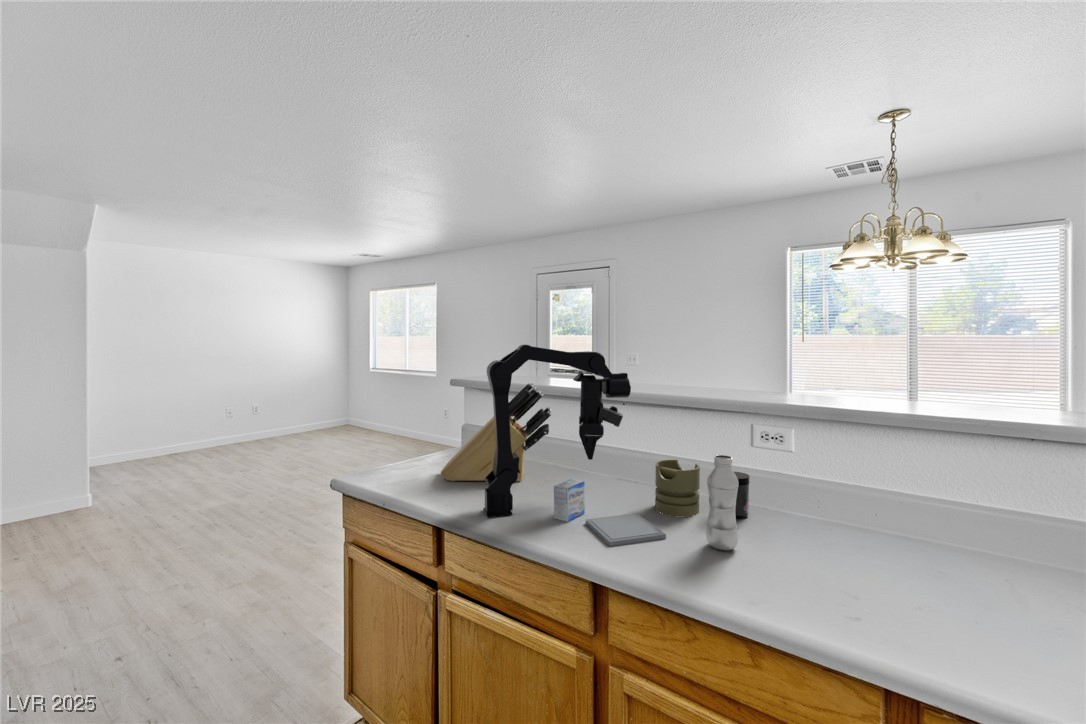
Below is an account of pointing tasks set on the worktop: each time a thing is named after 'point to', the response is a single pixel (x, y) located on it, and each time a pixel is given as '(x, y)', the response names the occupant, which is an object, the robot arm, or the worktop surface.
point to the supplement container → (742, 495)
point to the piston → (676, 489)
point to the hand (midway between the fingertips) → (589, 455)
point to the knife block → (481, 448)
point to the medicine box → (569, 500)
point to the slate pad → (624, 529)
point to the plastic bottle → (722, 505)
